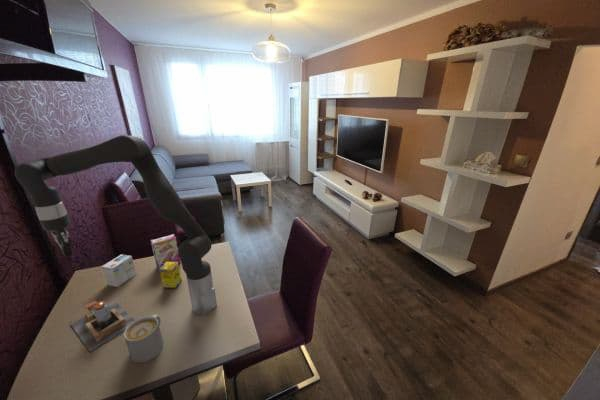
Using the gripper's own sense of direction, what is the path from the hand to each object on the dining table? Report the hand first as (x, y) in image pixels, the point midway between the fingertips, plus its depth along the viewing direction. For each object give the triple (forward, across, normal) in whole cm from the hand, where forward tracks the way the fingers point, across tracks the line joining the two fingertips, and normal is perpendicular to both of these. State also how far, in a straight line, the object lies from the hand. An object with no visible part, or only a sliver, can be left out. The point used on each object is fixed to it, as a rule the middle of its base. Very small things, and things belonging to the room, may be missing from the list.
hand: (68, 255), depth 96 cm
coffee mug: (+25, -41, -6) cm, 48 cm away
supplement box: (+25, -17, -28) cm, 41 cm away
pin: (+24, -12, 0) cm, 27 cm away
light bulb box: (+25, +7, -16) cm, 31 cm away
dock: (+25, -17, 0) cm, 30 cm away
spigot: (+25, -20, 0) cm, 32 cm away
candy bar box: (+25, -1, -35) cm, 43 cm away
